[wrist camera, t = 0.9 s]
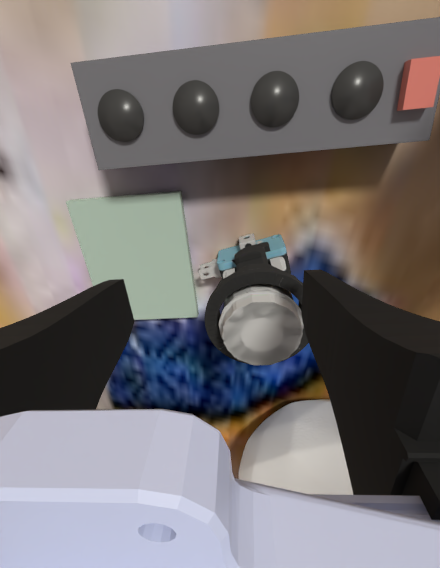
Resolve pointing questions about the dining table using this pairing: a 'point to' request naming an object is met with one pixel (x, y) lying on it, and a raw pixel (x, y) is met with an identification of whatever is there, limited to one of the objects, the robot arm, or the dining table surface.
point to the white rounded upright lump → (298, 451)
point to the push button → (255, 302)
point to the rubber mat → (139, 250)
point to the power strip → (264, 96)
